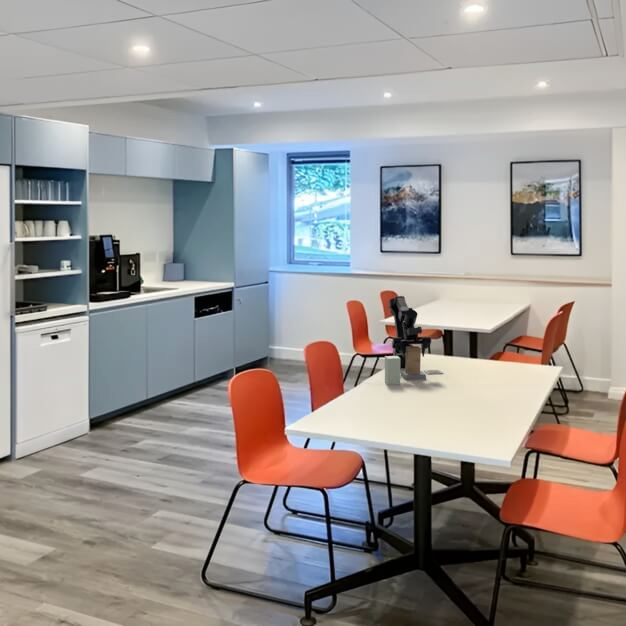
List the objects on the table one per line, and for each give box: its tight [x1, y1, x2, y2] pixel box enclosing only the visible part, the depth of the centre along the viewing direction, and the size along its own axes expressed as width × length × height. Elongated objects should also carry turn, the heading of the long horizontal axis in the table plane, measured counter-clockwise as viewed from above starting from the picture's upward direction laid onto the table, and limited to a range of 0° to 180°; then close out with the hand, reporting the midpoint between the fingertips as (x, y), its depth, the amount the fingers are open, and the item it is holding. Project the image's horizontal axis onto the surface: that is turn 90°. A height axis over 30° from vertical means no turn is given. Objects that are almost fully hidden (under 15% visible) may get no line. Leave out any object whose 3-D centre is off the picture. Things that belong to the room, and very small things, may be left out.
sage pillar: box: [384, 355, 401, 386], centre depth 351 cm, size 6×6×12 cm
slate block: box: [400, 369, 427, 381], centre depth 364 cm, size 10×10×3 cm
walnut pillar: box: [404, 345, 422, 374], centre depth 363 cm, size 6×6×12 cm
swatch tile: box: [423, 369, 444, 375], centre depth 376 cm, size 8×8×1 cm
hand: (414, 356), depth 362 cm, fingers open, 9 cm apart
